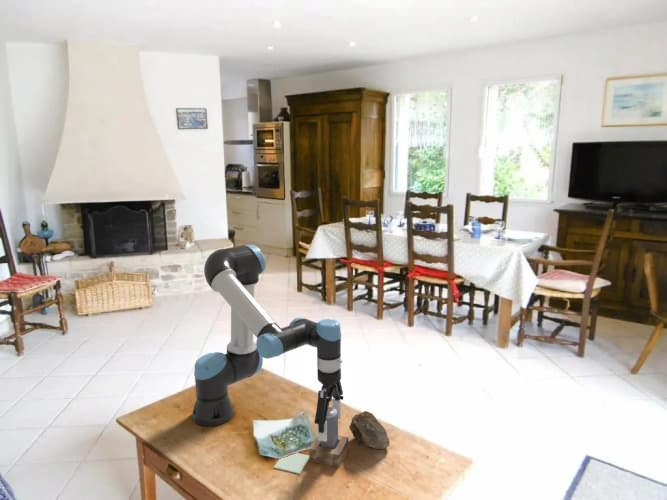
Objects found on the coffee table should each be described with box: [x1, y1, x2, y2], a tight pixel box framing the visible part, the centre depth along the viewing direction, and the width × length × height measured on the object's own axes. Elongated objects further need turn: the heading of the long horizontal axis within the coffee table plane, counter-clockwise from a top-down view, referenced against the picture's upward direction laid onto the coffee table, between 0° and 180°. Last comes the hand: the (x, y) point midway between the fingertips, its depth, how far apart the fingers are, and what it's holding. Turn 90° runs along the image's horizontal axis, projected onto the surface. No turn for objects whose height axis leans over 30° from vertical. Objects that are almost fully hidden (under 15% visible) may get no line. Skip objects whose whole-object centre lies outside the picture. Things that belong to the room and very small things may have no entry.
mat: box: [273, 452, 310, 475], centre depth 153 cm, size 9×9×1 cm
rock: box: [349, 410, 391, 450], centre depth 162 cm, size 15×8×15 cm
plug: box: [321, 407, 339, 450], centre depth 155 cm, size 5×5×16 cm
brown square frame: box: [309, 434, 349, 468], centre depth 156 cm, size 10×10×4 cm
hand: (329, 428), depth 155 cm, fingers open, 13 cm apart
